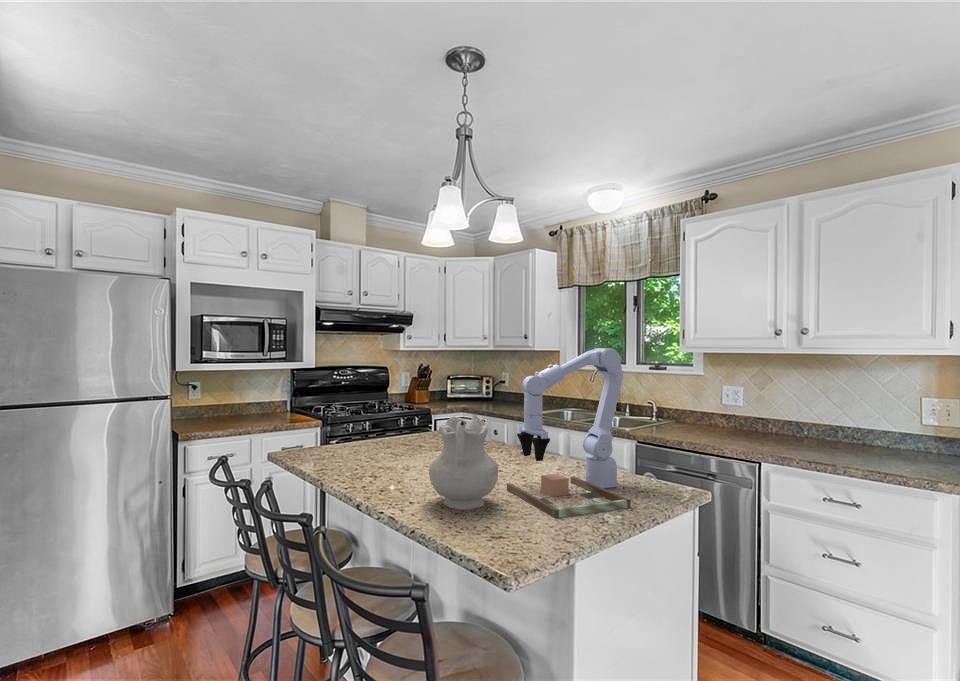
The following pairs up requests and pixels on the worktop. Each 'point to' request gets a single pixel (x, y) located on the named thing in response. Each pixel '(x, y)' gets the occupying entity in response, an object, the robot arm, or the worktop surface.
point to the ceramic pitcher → (463, 464)
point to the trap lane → (595, 493)
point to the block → (554, 484)
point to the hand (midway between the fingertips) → (533, 458)
